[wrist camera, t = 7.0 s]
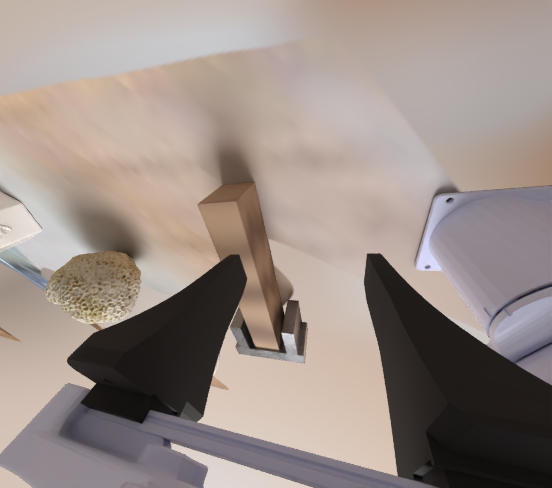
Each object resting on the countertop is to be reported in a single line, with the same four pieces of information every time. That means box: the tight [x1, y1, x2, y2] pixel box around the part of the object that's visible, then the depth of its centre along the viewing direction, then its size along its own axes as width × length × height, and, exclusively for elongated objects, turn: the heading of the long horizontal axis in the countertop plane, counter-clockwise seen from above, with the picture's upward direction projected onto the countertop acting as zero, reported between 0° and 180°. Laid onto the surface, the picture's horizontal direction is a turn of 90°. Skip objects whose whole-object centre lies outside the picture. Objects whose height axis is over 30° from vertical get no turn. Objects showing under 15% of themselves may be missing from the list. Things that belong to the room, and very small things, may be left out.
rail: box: [197, 182, 285, 350], centre depth 23 cm, size 22×4×5 cm, turn 9°
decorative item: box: [44, 251, 141, 324], centre depth 26 cm, size 12×9×10 cm
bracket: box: [230, 300, 308, 363], centre depth 28 cm, size 10×7×5 cm
